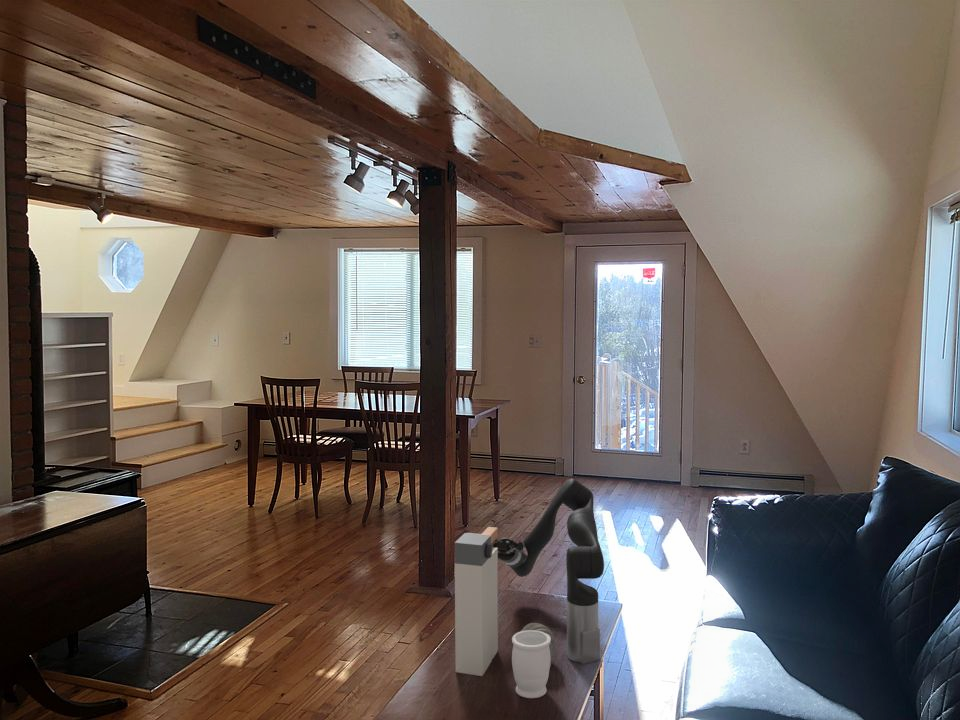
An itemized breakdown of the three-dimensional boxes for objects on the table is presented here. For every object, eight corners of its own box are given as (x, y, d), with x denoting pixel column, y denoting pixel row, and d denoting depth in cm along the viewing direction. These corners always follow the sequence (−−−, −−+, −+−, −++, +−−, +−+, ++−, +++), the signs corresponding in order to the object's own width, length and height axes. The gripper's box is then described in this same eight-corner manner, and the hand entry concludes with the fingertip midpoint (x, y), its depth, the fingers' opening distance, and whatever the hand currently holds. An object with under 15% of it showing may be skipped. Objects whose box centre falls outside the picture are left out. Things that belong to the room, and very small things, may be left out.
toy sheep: (540, 647, 236) (540, 612, 235) (568, 672, 221) (568, 634, 220) (509, 653, 232) (509, 618, 231) (535, 679, 217) (535, 641, 216)
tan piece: (481, 535, 242) (481, 518, 242) (504, 537, 240) (504, 520, 239) (465, 551, 227) (465, 533, 227) (490, 554, 225) (490, 536, 224)
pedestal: (472, 647, 236) (471, 526, 233) (501, 651, 234) (501, 528, 230) (455, 672, 221) (454, 542, 218) (486, 676, 218) (485, 545, 215)
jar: (532, 677, 218) (532, 626, 217) (558, 692, 210) (558, 638, 209) (503, 690, 211) (503, 637, 210) (529, 705, 203) (530, 650, 202)
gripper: (489, 538, 263) (477, 527, 249) (530, 542, 259) (520, 531, 245) (486, 561, 260) (473, 550, 246) (527, 565, 256) (517, 555, 242)
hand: (496, 540), depth 245 cm, fingers open, 8 cm apart
